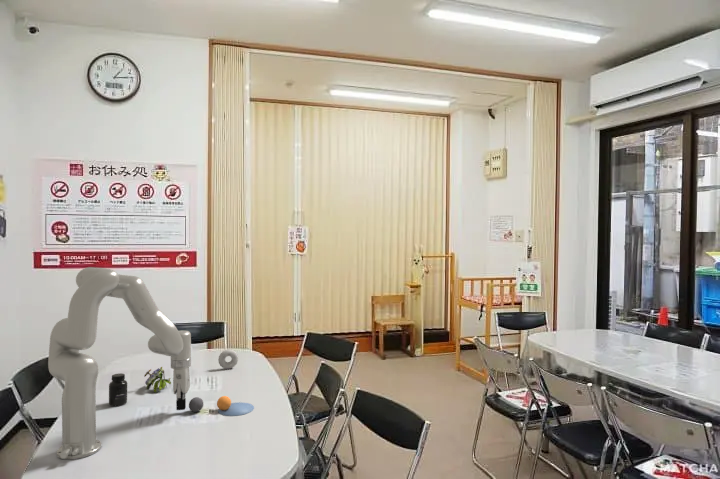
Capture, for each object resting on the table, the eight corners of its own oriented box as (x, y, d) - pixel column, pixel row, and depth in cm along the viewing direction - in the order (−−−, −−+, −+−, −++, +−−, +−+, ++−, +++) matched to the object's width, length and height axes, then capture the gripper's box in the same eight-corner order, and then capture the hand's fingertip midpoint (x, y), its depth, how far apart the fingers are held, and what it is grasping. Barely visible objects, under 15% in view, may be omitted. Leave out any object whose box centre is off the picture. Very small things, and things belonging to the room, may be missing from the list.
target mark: (253, 414, 190) (253, 414, 190) (216, 417, 187) (216, 416, 187) (254, 401, 203) (254, 401, 203) (219, 404, 201) (219, 403, 201)
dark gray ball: (186, 403, 189) (191, 416, 189) (199, 397, 190) (205, 409, 191) (187, 399, 194) (192, 411, 195) (200, 393, 196) (205, 405, 196)
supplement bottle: (119, 407, 196) (119, 378, 196) (105, 406, 198) (104, 376, 197) (131, 401, 203) (130, 373, 203) (116, 400, 204) (116, 371, 204)
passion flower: (148, 401, 219) (144, 376, 224) (174, 393, 223) (169, 369, 228) (145, 394, 210) (141, 368, 215) (172, 386, 214) (167, 360, 219)
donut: (218, 370, 247) (218, 351, 247) (218, 368, 250) (217, 349, 250) (238, 368, 251) (238, 349, 251) (237, 366, 254) (237, 347, 254)
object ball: (214, 410, 191) (227, 414, 192) (219, 397, 191) (232, 401, 192) (215, 405, 196) (228, 409, 197) (220, 392, 196) (233, 396, 197)
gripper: (188, 367, 184) (188, 415, 184) (193, 357, 198) (193, 401, 199) (167, 368, 182) (167, 417, 183) (174, 358, 197) (174, 403, 197)
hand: (181, 409), depth 191 cm, fingers closed
